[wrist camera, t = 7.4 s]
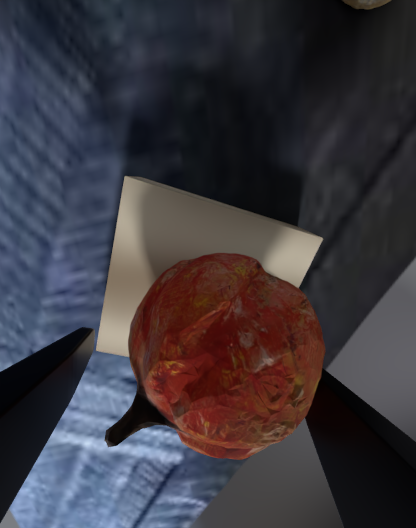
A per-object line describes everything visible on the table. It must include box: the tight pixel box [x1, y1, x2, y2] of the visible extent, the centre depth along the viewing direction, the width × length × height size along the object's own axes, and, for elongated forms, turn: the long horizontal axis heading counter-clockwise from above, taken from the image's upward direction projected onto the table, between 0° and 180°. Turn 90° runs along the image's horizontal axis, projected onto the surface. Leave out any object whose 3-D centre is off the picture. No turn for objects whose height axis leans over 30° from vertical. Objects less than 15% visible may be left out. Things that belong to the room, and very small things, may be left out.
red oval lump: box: [105, 253, 325, 460], centre depth 9 cm, size 7×7×10 cm
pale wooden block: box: [96, 176, 323, 357], centre depth 14 cm, size 10×10×4 cm
